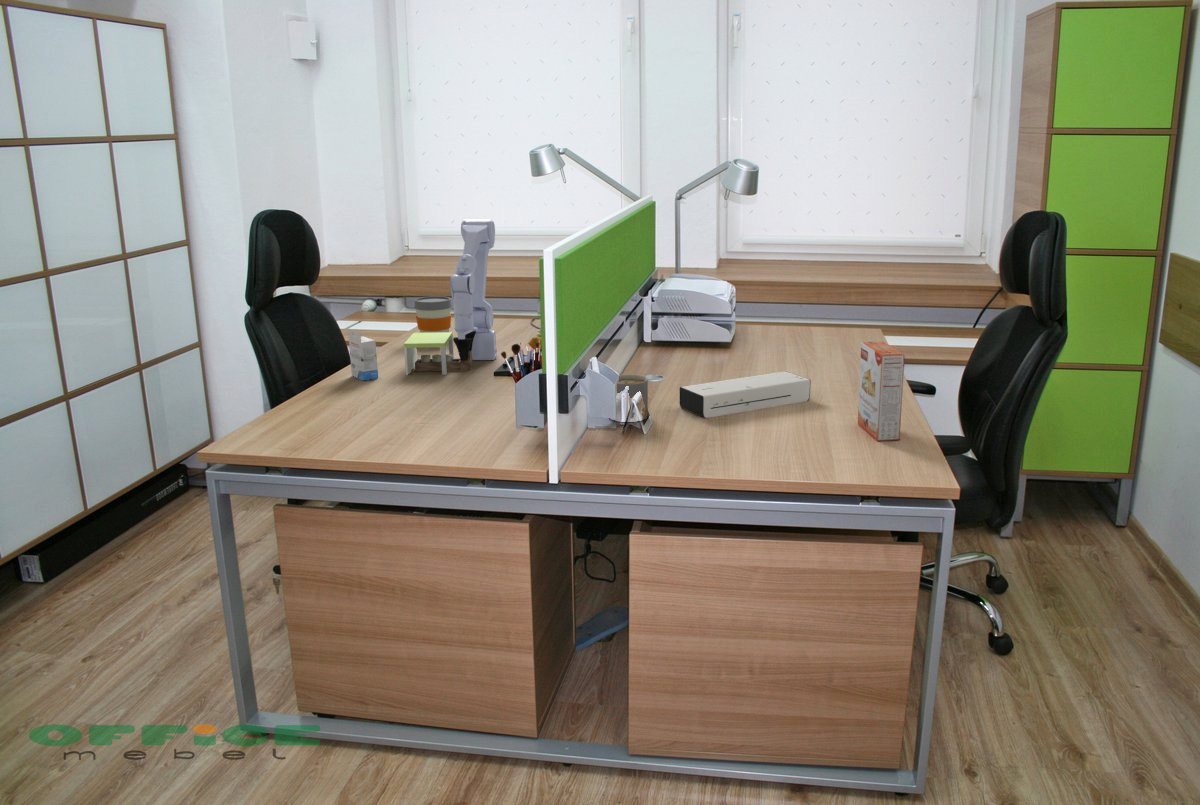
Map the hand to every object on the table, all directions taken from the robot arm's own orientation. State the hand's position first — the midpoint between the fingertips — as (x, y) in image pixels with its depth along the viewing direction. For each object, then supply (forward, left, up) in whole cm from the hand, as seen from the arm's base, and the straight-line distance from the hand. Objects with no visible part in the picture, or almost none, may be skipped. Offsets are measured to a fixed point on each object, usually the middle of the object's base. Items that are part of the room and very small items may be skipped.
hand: (465, 357), depth 311 cm
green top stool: (+11, 0, -3) cm, 12 cm away
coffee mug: (-47, +56, -4) cm, 73 cm away
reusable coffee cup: (+16, -39, -4) cm, 42 cm away
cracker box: (-108, +71, -4) cm, 129 cm away
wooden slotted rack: (+7, 0, -4) cm, 8 cm away
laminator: (-80, +44, -4) cm, 91 cm away
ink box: (+29, +10, -4) cm, 31 cm away
